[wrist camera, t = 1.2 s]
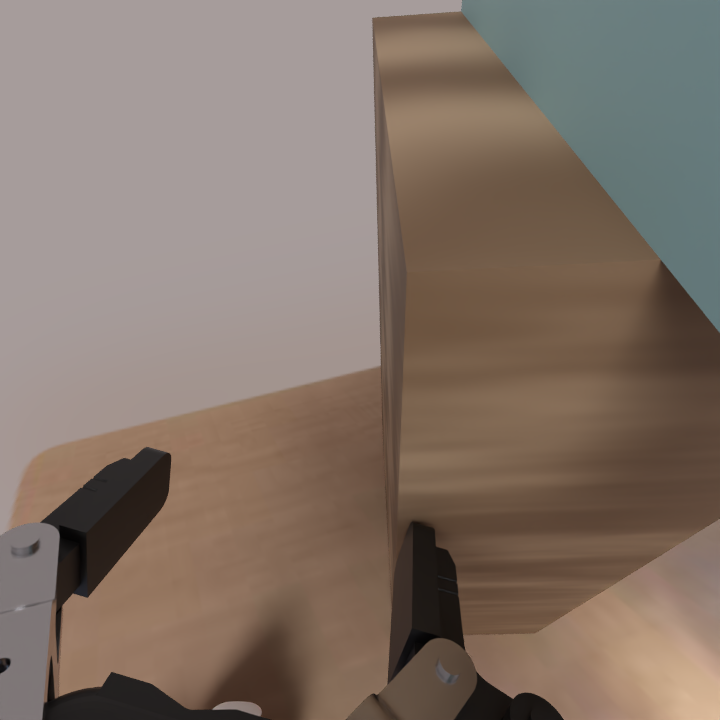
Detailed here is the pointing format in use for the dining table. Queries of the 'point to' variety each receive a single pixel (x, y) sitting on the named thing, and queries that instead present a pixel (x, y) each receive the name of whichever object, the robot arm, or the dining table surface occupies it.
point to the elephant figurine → (240, 707)
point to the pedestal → (525, 345)
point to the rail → (630, 111)
